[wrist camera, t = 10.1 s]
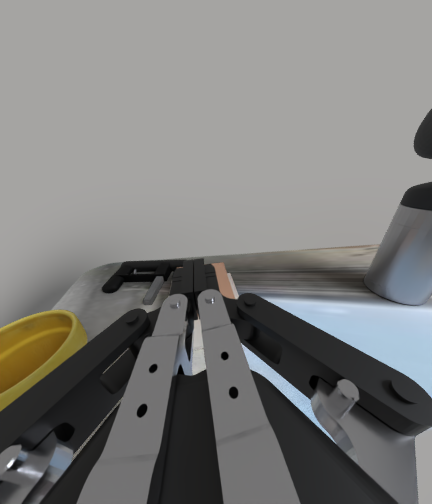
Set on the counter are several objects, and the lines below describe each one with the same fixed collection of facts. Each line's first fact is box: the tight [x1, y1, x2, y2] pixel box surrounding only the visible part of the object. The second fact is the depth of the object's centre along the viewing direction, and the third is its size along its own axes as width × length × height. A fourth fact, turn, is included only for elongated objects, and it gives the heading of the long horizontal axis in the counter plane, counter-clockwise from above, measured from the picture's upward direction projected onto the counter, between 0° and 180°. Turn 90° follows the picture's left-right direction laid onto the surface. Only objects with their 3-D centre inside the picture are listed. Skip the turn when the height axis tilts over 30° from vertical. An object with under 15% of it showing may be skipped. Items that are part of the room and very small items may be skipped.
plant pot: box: [0, 310, 87, 411], centre depth 18 cm, size 10×10×10 cm
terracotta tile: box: [179, 263, 235, 317], centre depth 34 cm, size 12×2×14 cm
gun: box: [102, 260, 186, 305], centre depth 40 cm, size 3×20×16 cm
